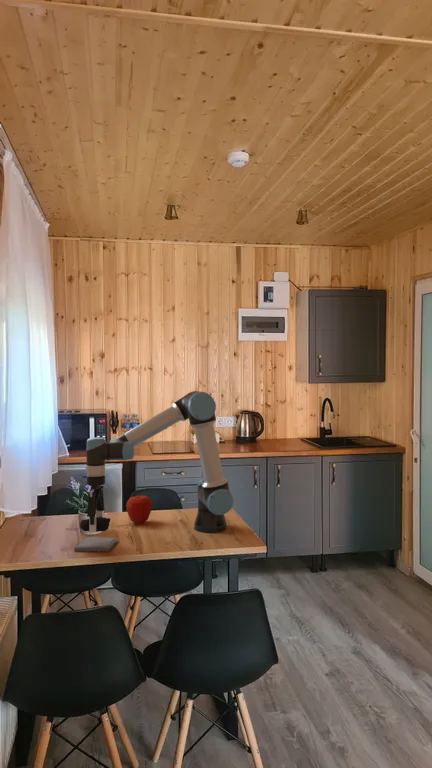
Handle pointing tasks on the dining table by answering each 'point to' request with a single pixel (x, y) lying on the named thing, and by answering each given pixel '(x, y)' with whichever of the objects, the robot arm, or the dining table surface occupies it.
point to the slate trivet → (96, 544)
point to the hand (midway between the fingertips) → (96, 529)
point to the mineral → (101, 524)
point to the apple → (139, 509)
